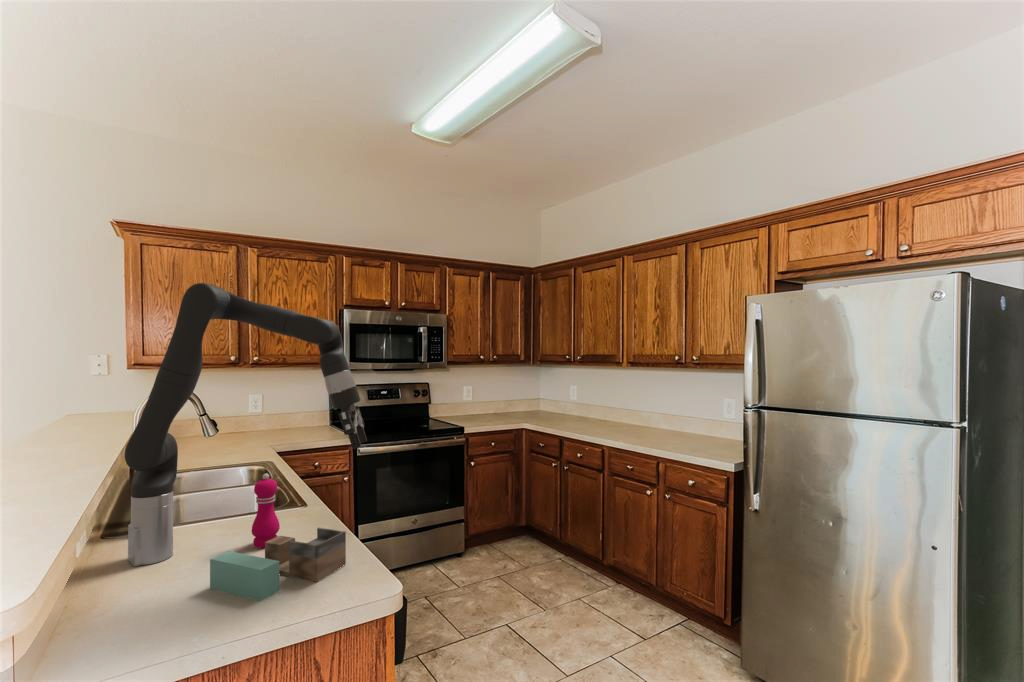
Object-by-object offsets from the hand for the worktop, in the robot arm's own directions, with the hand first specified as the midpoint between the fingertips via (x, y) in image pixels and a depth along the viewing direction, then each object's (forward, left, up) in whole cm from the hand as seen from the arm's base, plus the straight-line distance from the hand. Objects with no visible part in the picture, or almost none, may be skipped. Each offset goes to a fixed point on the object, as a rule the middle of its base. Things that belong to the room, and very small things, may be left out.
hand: (360, 445), depth 140 cm
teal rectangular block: (-30, +1, -29) cm, 42 cm away
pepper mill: (-15, +25, -29) cm, 41 cm away
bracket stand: (-16, +4, -29) cm, 33 cm away
